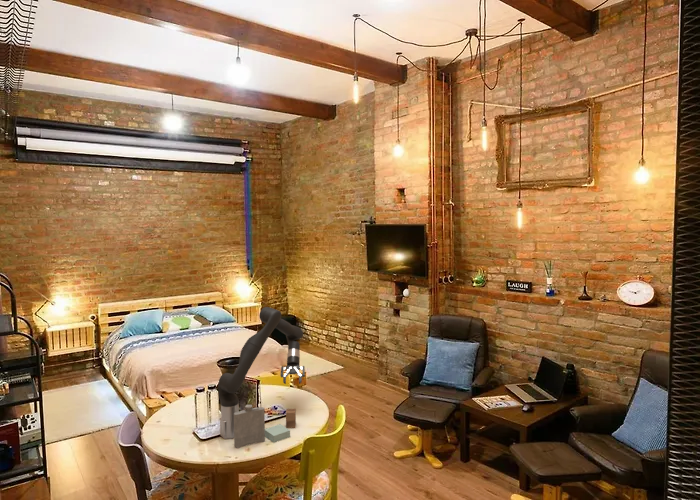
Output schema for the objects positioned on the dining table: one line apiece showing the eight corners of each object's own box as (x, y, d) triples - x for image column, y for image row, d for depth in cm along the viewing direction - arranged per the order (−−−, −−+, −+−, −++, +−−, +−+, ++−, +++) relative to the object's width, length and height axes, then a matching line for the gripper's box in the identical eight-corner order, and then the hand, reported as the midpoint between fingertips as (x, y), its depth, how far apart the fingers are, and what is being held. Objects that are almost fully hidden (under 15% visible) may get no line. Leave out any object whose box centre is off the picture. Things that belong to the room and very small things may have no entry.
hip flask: (235, 448, 234) (234, 410, 232) (233, 445, 237) (232, 407, 236) (265, 441, 241) (265, 404, 240) (263, 438, 245) (262, 401, 244)
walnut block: (295, 428, 257) (294, 412, 256) (286, 428, 256) (285, 412, 256) (295, 424, 262) (295, 408, 261) (286, 424, 261) (286, 408, 261)
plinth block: (273, 443, 240) (273, 436, 240) (264, 436, 248) (264, 429, 247) (290, 437, 246) (290, 430, 246) (280, 431, 254) (280, 424, 254)
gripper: (281, 355, 277) (279, 380, 266) (304, 354, 277) (304, 380, 267) (282, 361, 282) (280, 386, 272) (305, 360, 283) (304, 385, 272)
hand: (292, 383), depth 269 cm, fingers open, 8 cm apart
